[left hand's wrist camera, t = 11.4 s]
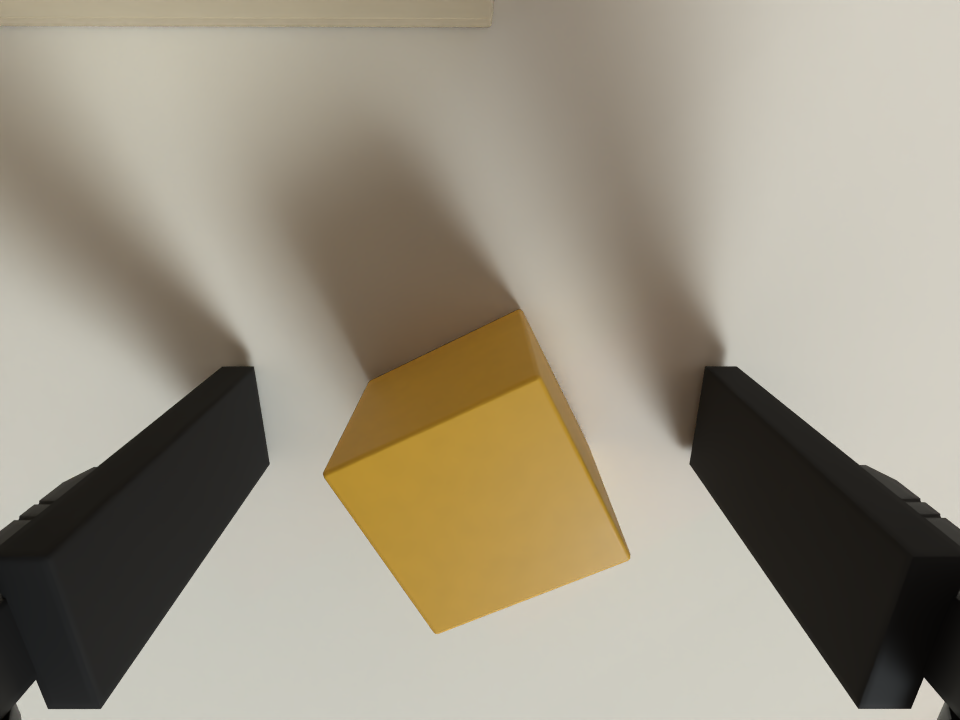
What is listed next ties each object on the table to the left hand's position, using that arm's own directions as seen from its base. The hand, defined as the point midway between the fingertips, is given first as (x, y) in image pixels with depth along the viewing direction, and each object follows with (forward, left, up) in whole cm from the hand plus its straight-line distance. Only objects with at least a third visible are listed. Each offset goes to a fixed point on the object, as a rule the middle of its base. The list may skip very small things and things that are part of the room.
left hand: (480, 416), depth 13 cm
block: (0, 0, 0) cm, 0 cm away
